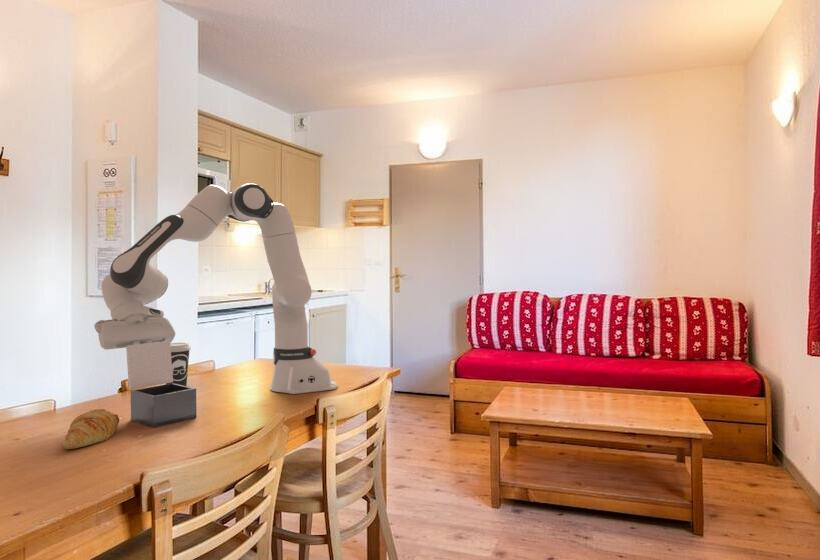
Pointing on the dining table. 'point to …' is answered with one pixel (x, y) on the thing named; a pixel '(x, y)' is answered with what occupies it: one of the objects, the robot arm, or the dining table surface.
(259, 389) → the dining table surface
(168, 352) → the lid
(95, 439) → the croissant
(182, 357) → the coffee cup
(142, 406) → the grey box
